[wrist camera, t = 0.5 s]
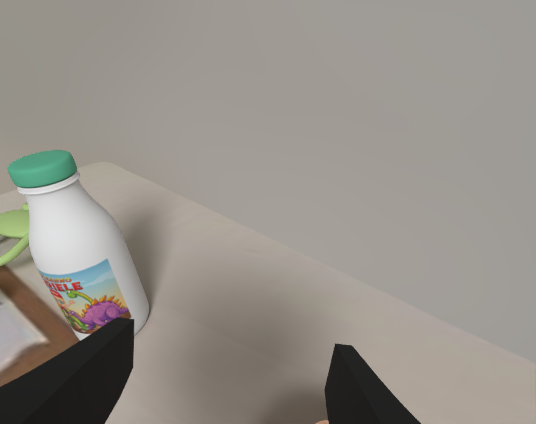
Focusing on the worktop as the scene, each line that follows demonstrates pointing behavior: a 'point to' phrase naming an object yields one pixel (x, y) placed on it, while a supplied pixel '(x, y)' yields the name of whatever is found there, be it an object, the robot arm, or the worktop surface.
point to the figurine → (15, 231)
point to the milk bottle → (77, 245)
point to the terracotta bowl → (323, 422)
